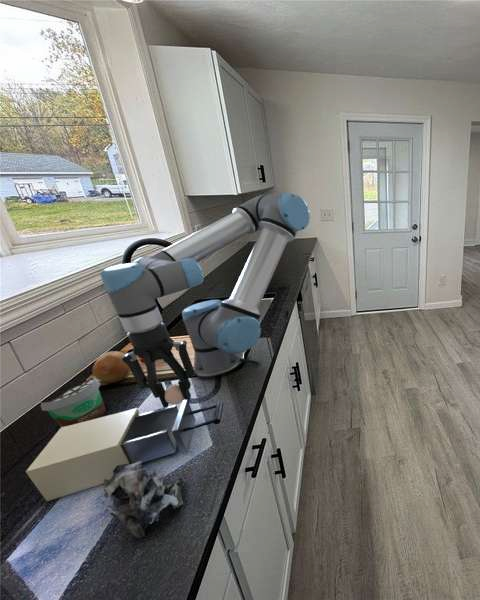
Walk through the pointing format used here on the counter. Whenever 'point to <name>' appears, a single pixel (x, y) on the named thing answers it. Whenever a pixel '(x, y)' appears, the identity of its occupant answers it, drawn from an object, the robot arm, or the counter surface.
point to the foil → (140, 496)
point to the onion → (111, 367)
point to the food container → (77, 404)
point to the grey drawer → (163, 431)
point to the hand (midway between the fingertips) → (177, 401)
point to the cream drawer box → (81, 455)
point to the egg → (173, 395)
